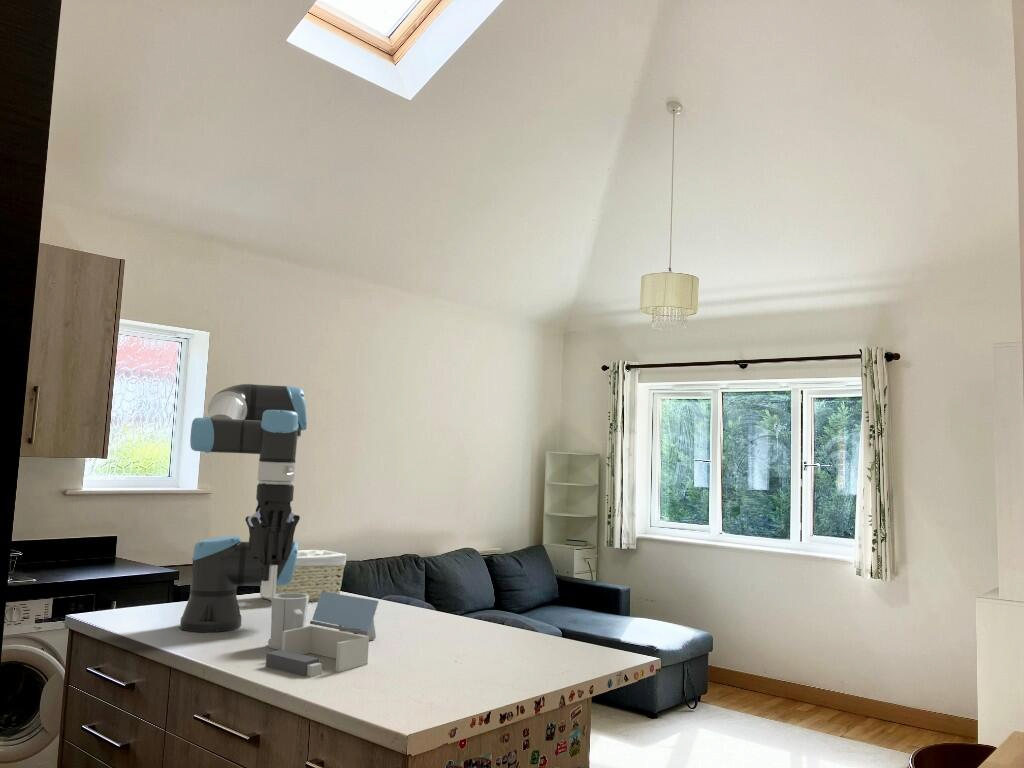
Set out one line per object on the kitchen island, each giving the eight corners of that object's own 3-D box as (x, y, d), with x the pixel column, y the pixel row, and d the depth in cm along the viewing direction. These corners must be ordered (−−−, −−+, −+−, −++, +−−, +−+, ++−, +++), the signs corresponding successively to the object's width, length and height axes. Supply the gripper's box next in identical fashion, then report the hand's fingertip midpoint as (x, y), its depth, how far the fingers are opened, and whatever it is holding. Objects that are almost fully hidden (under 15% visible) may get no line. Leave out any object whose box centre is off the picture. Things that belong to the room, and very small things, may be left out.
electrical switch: (347, 645, 196) (347, 606, 198) (334, 644, 199) (334, 605, 201) (376, 640, 203) (376, 602, 205) (362, 639, 207) (362, 601, 208)
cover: (320, 590, 192) (324, 592, 193) (309, 623, 188) (313, 625, 189) (376, 600, 182) (379, 601, 183) (365, 634, 179) (369, 636, 180)
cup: (318, 645, 195) (322, 595, 196) (297, 653, 186) (300, 600, 188) (282, 640, 198) (285, 591, 200) (259, 648, 190) (263, 596, 191)
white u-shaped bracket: (280, 658, 181) (282, 631, 182) (310, 651, 189) (312, 625, 189) (338, 672, 172) (340, 643, 172) (367, 664, 179) (369, 636, 180)
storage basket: (321, 592, 272) (324, 548, 274) (346, 599, 260) (348, 553, 262) (254, 598, 256) (257, 551, 258) (277, 605, 244) (281, 557, 246)
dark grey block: (265, 667, 174) (266, 653, 174) (279, 663, 177) (280, 649, 177) (309, 678, 167) (310, 663, 167) (323, 674, 170) (324, 659, 170)
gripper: (263, 483, 162) (254, 602, 159) (311, 483, 173) (304, 594, 171) (238, 482, 166) (230, 597, 163) (287, 482, 177) (280, 590, 175)
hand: (268, 596), depth 167 cm, fingers closed
